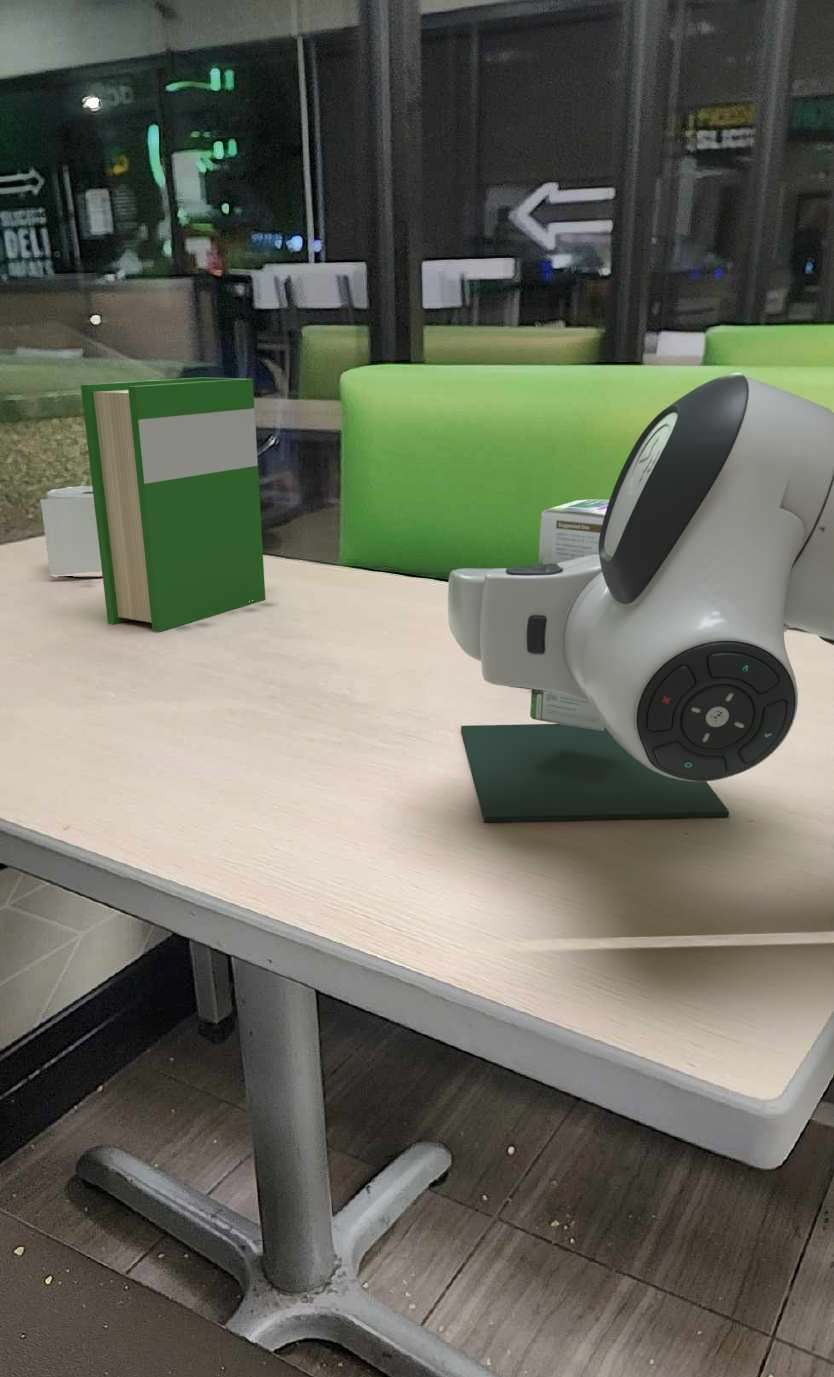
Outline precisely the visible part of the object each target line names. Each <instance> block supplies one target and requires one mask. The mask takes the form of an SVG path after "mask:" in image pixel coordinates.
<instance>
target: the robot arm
mask: <svg viewBox="0 0 834 1377" xmlns="http://www.w3.org/2000/svg"><path fill="white" fill-rule="evenodd" d="M608 500H609V503H608V506H607V510H606V513H605V517H604V520H603V524H602V528H601V532H600V537H599V545H598V550H599V555H589V556H584V557H581V558H577V559H573V560H570V561H566V562H561V563H556V564H555V563H550V564H543V565H538V564H536V565H522V566H509V567H506V568H503V567H502V568H498V567H496V568H495V567H493V568H471V567H466V568H457V569H453V570H451V572H449V575H448V585H447V587H448V588H447V617H448V619H447V620H448V627H449V630H450V632H451V634H452V636H453V639H454V640H455V641H456V643H457V644H458V646H459V647H460V649H461V650H462V651H463V652H464V653H465V654H466V655H468V656H469V657H470V658H472V659H474V660H476V661H479V662H480V664H481V671H482V672H481V673H482V678H483V679H484V681H485V682H487V683H488V684H490V685H494V686H501V687H502V686H503V687H509V688H516V689H525V690H526V689H527V690H531V691H532V690H539V691H546V692H553V693H557V694H561V695H565V696H568V697H572V698H575V699H578V700H581V701H585V702H589V703H590V704H591V706H592V708H593V710H594V711H595V713H596V715H597V716H598V718H599V719H600V721H601V722H602V724H603V725H604V727H605V728H606V729H607V731H608V732H609V733H610V734H611V736H612V737H613V738H614V739H615V740H616V741H617V742H618V743H619V744H620V745H621V746H622V747H623V748H624V749H625V750H626V751H627V752H628V753H629V754H630V755H632V756H633V757H634V758H635V759H637V760H638V761H639V762H641V763H642V764H643V765H645V766H646V767H648V768H649V769H651V770H653V771H655V772H657V773H659V774H661V775H664V776H666V777H670V778H674V779H678V780H684V781H694V782H704V781H706V782H714V781H719V780H724V779H727V778H731V777H735V776H737V775H740V774H742V773H745V772H747V771H749V770H751V769H753V768H754V767H756V766H758V765H760V764H761V763H763V762H764V761H765V760H767V759H768V758H769V757H771V756H772V754H774V753H775V752H776V751H777V750H778V748H780V746H781V745H782V744H783V742H784V741H785V740H786V738H787V736H788V735H789V734H790V731H791V729H792V728H793V725H794V722H795V719H796V716H797V711H798V706H799V693H798V692H799V691H798V684H797V680H796V676H795V673H794V670H793V667H792V665H791V661H790V659H789V656H788V652H787V648H786V643H785V642H786V641H785V633H786V632H788V630H789V629H799V630H802V631H804V632H807V633H810V634H812V635H816V636H818V638H820V639H821V640H822V641H823V642H826V643H828V644H830V645H832V646H834V411H832V409H831V408H828V407H826V406H824V405H821V404H818V403H816V402H815V401H814V402H813V401H811V400H810V399H807V398H805V397H802V396H800V395H796V394H794V393H792V392H789V391H786V390H784V389H782V388H778V387H777V386H774V385H771V384H769V383H766V382H762V381H761V380H757V379H754V378H752V377H748V376H745V374H743V373H741V372H734V373H728V374H725V375H721V376H719V377H715V378H713V379H712V380H709V381H706V382H705V383H702V384H701V385H699V386H697V387H696V388H694V389H692V390H691V391H689V392H688V393H686V394H685V395H682V397H680V398H679V399H677V400H676V401H674V402H672V403H671V404H670V405H668V406H667V407H666V408H665V409H663V410H662V411H660V412H659V413H658V414H657V415H656V416H655V417H654V418H652V420H651V421H650V423H649V424H648V425H647V426H646V427H645V428H644V430H643V431H642V433H641V434H640V435H639V437H638V438H637V440H636V441H635V444H634V446H633V447H632V448H631V450H630V452H629V455H628V456H627V458H626V460H625V462H624V464H623V466H622V468H621V470H620V473H619V475H618V477H617V480H616V482H615V484H614V487H613V490H612V492H611V494H610V497H609V499H608Z"/></svg>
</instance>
